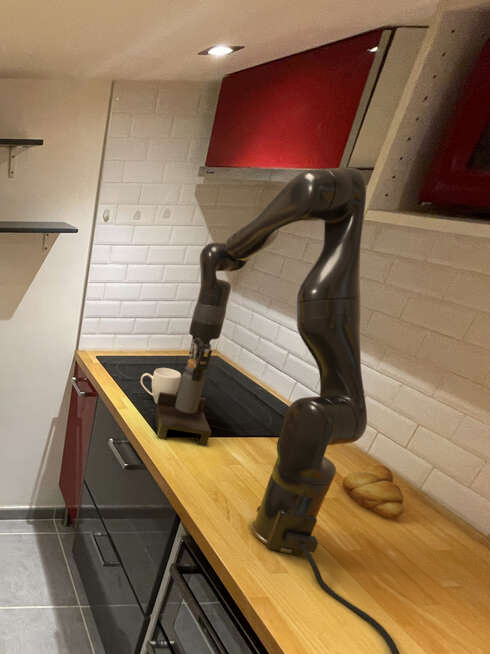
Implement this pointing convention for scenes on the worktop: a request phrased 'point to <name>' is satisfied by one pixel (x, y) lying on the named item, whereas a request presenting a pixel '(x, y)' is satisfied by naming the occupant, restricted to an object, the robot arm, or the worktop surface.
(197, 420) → the dark brown legged piece
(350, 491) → the bread roll
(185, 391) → the bottle
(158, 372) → the mug
